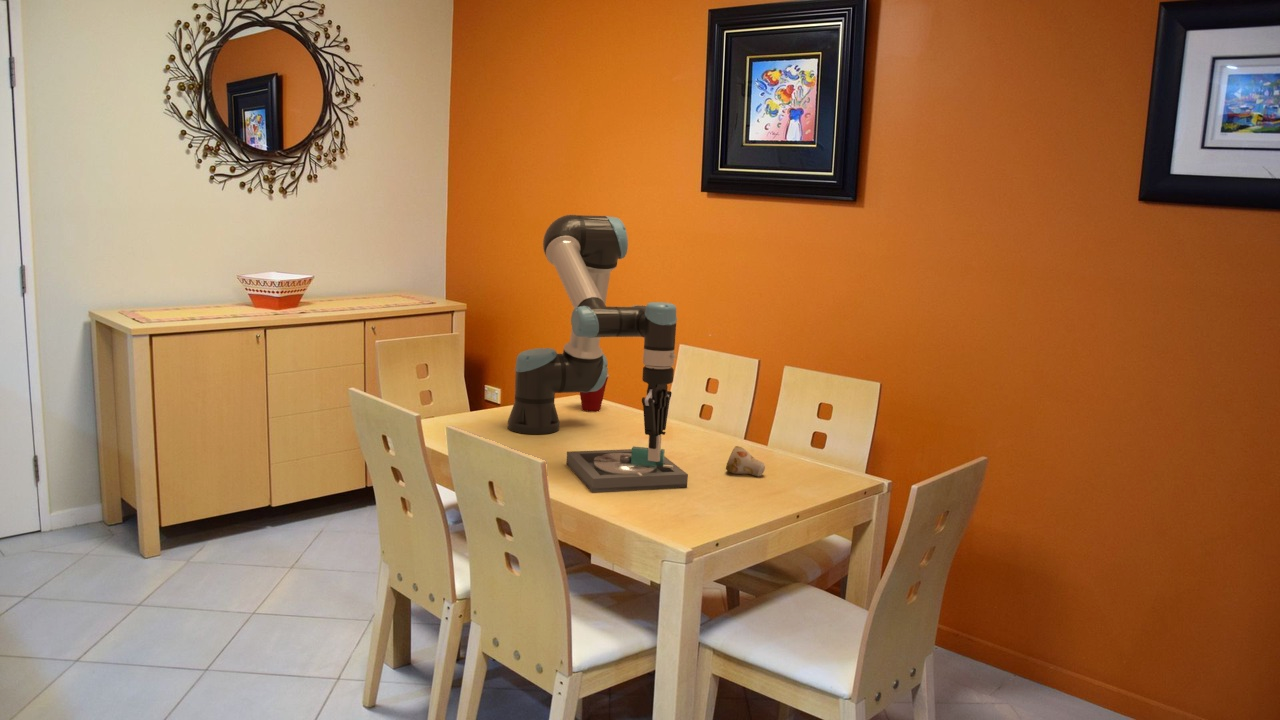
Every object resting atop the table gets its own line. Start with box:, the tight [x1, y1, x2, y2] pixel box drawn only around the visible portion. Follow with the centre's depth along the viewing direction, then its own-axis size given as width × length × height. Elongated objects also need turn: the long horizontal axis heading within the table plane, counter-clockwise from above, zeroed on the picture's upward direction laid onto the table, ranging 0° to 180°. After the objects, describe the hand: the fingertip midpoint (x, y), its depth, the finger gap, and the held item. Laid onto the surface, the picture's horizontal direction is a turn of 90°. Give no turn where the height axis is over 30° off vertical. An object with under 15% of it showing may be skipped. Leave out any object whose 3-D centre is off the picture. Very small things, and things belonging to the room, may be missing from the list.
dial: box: [594, 446, 666, 475], centre depth 243 cm, size 18×16×6 cm
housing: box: [566, 448, 689, 494], centre depth 243 cm, size 24×24×4 cm
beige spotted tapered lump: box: [725, 445, 766, 477], centre depth 251 cm, size 8×10×10 cm
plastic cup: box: [579, 373, 610, 412], centre depth 313 cm, size 11×11×12 cm
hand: (653, 460), depth 239 cm, fingers closed
